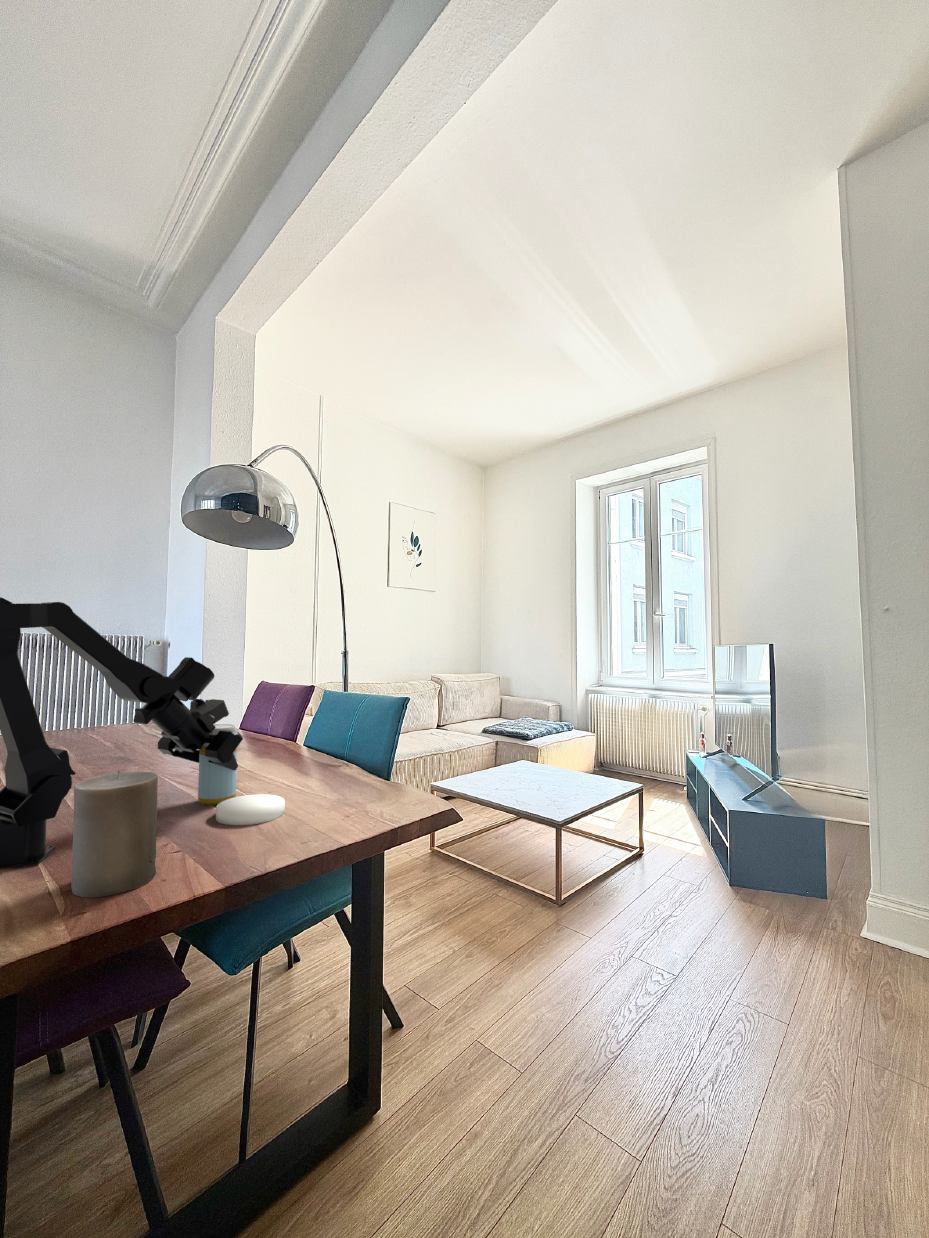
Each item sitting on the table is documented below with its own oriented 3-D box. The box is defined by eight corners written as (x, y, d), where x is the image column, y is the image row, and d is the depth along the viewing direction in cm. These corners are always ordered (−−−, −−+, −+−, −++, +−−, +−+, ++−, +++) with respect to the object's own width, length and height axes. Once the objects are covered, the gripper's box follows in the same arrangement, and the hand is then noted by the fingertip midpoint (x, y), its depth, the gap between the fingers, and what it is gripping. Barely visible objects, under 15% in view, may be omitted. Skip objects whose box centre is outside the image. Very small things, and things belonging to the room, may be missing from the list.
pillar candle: (172, 870, 75) (175, 764, 76) (109, 903, 65) (113, 780, 66) (118, 863, 77) (121, 760, 78) (50, 893, 68) (54, 775, 69)
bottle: (242, 796, 111) (244, 724, 111) (223, 806, 104) (226, 729, 104) (210, 795, 111) (213, 723, 112) (190, 804, 104) (192, 728, 105)
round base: (284, 821, 96) (284, 810, 96) (211, 828, 92) (212, 816, 92) (284, 802, 107) (284, 792, 107) (219, 807, 103) (219, 797, 103)
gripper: (235, 689, 101) (278, 738, 110) (173, 684, 109) (218, 730, 119) (197, 737, 93) (246, 785, 103) (133, 728, 102) (184, 773, 111)
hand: (224, 766), depth 109 cm, fingers closed on bottle, 7 cm apart
